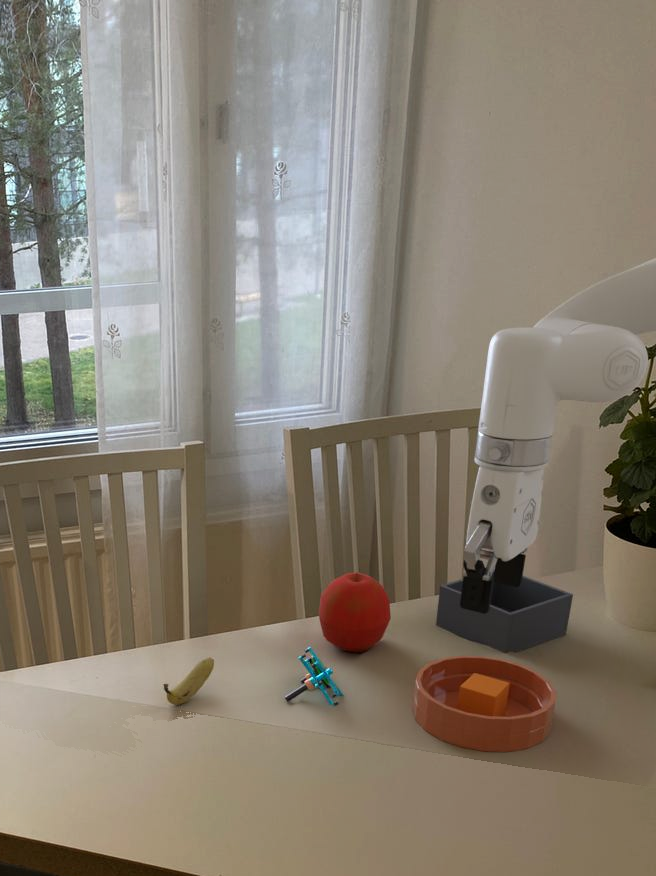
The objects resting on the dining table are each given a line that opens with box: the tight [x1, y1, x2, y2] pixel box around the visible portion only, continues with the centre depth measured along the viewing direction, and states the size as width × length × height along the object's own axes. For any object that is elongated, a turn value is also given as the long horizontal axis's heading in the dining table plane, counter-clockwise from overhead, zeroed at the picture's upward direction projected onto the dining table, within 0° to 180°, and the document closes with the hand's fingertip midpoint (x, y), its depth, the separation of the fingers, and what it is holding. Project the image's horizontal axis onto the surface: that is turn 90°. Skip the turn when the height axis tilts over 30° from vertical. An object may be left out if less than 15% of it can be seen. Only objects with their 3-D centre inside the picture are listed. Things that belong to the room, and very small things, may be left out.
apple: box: [318, 572, 391, 653], centre depth 131 cm, size 10×10×12 cm
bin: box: [435, 568, 574, 654], centre depth 135 cm, size 13×13×6 cm
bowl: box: [412, 655, 557, 753], centre depth 112 cm, size 16×16×5 cm
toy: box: [457, 673, 510, 717], centre depth 112 cm, size 4×4×4 cm
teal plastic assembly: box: [284, 646, 345, 706], centre depth 120 cm, size 12×7×8 cm
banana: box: [163, 657, 215, 706], centre depth 119 cm, size 10×2×4 cm, turn 141°
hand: (491, 596), depth 105 cm, fingers open, 9 cm apart
